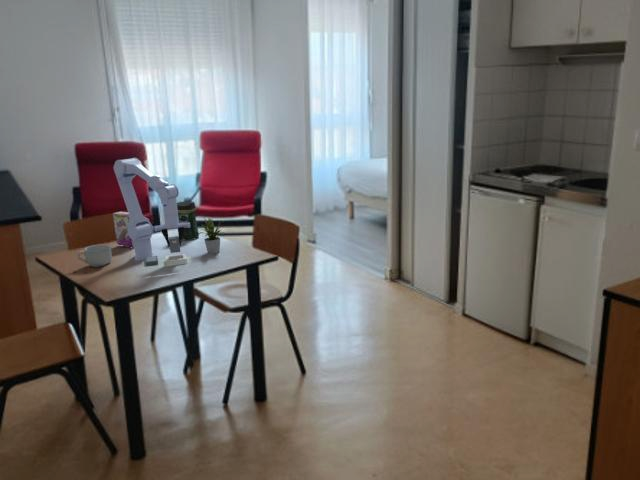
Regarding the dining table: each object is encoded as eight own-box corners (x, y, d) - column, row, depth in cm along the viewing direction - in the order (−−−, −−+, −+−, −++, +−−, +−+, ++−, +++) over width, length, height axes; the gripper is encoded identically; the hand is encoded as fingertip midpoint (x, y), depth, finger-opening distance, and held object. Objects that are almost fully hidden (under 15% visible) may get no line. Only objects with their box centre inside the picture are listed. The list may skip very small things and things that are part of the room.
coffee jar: (201, 236, 300) (197, 200, 296) (194, 240, 293) (190, 203, 288) (183, 236, 303) (179, 200, 298) (176, 240, 295) (172, 203, 291)
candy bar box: (116, 246, 289) (111, 213, 285) (124, 244, 293) (120, 211, 289) (132, 248, 283) (127, 214, 279) (140, 246, 287) (136, 212, 283)
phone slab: (145, 260, 258) (145, 257, 257) (157, 259, 259) (157, 255, 259) (146, 266, 249) (145, 262, 249) (158, 264, 251) (157, 260, 250)
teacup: (112, 260, 264) (110, 242, 262) (113, 266, 254) (111, 248, 252) (79, 265, 259) (76, 247, 257) (78, 271, 249) (76, 253, 247)
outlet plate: (142, 262, 257) (141, 257, 256) (189, 256, 262) (188, 251, 262) (142, 270, 245) (141, 264, 244) (192, 264, 250) (191, 258, 250)
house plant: (189, 252, 270) (185, 217, 266) (215, 246, 278) (212, 212, 275) (206, 258, 259) (202, 221, 255) (232, 251, 268) (229, 215, 264)
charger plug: (170, 250, 253) (168, 237, 252) (179, 249, 255) (178, 235, 253) (170, 253, 250) (169, 239, 248) (180, 251, 251) (178, 238, 249)
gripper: (153, 217, 243) (157, 250, 246) (189, 214, 246) (192, 245, 250) (152, 214, 249) (156, 246, 252) (188, 211, 253) (191, 242, 256)
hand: (174, 245), depth 251 cm, fingers closed on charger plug, 4 cm apart
